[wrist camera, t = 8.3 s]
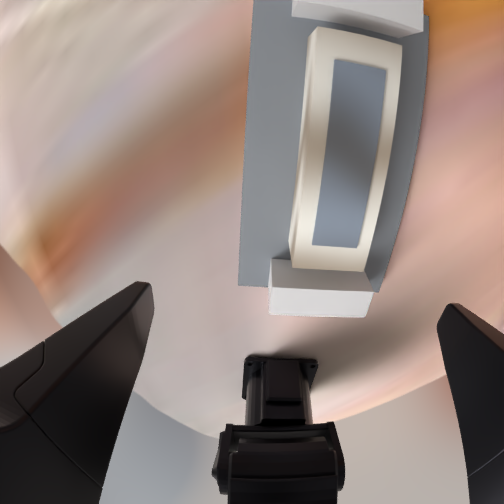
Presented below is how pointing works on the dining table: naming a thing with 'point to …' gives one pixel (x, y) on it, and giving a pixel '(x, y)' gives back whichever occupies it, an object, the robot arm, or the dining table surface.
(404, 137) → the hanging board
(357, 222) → the frame
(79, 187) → the dining table surface
